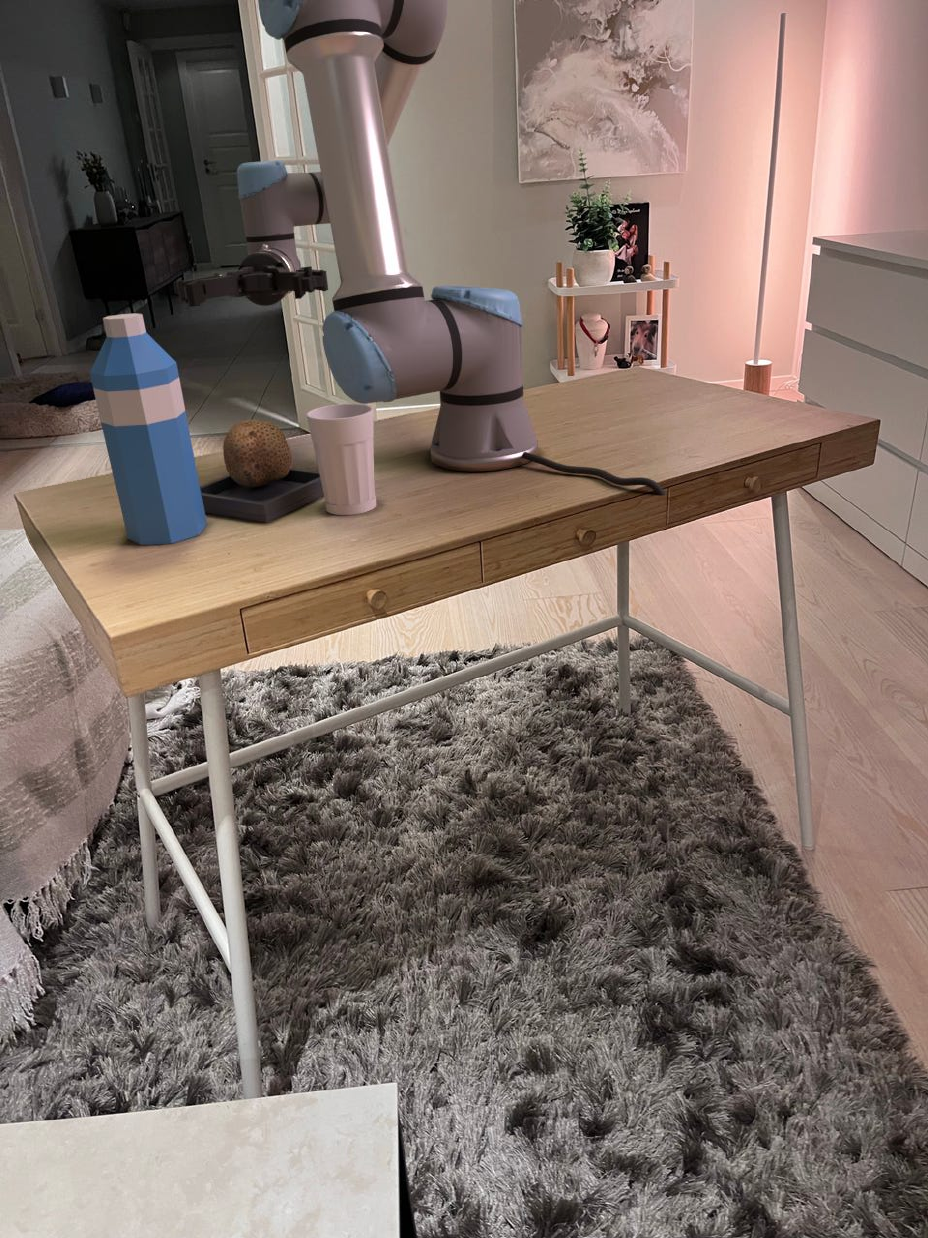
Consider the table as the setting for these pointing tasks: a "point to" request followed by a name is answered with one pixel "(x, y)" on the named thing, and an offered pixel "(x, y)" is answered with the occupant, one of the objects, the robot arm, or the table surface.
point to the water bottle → (147, 435)
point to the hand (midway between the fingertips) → (243, 291)
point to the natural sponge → (256, 453)
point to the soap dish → (261, 496)
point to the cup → (345, 456)
